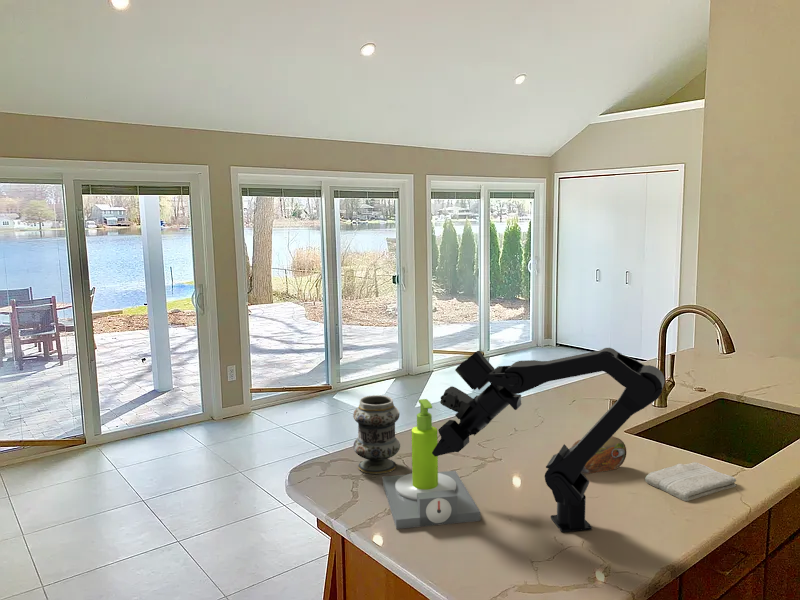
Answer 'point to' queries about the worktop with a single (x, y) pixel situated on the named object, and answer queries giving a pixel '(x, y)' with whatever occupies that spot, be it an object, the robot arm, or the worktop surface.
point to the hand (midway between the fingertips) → (441, 447)
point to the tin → (606, 457)
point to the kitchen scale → (429, 501)
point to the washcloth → (690, 480)
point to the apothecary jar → (376, 434)
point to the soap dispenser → (424, 450)
